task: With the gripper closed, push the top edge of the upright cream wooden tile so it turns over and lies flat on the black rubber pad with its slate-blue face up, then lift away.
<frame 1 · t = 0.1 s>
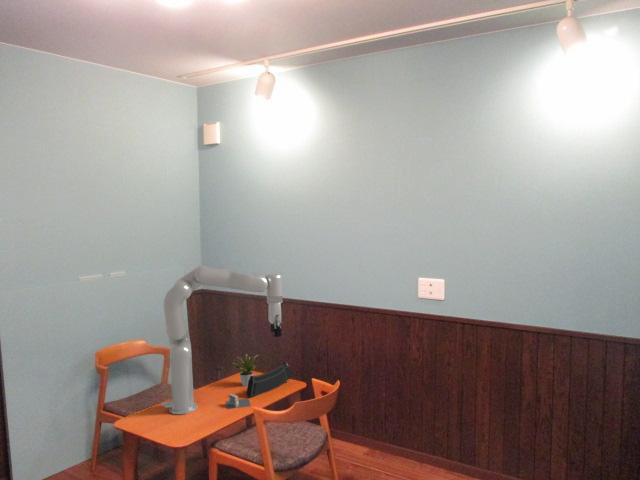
hand: (276, 334, 239), 31 cm above the table, tool pointing down, fingers open, 9 cm apart
magazine: (270, 389, 252), on the table
mat: (238, 404, 233), on the table
tile: (234, 405, 230), resting on mat
house plant: (248, 384, 260), on the table
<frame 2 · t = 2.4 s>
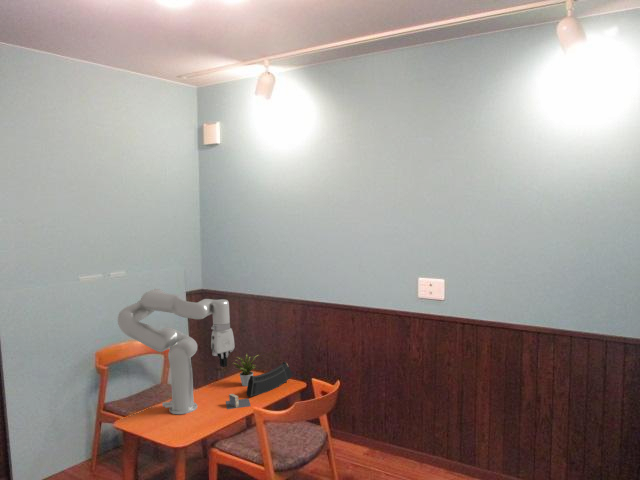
hand: (223, 366, 226), 21 cm above the table, tool pointing down, fingers closed
nothing on the table moved.
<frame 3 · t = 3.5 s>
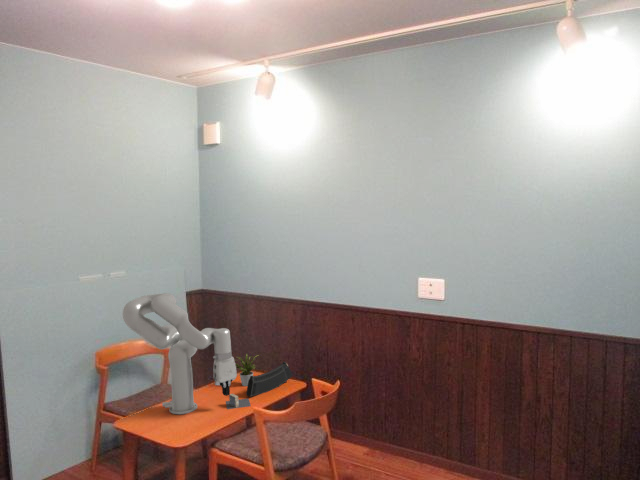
hand: (226, 394, 226), 7 cm above the table, tool pointing down, fingers closed
nothing on the table moved.
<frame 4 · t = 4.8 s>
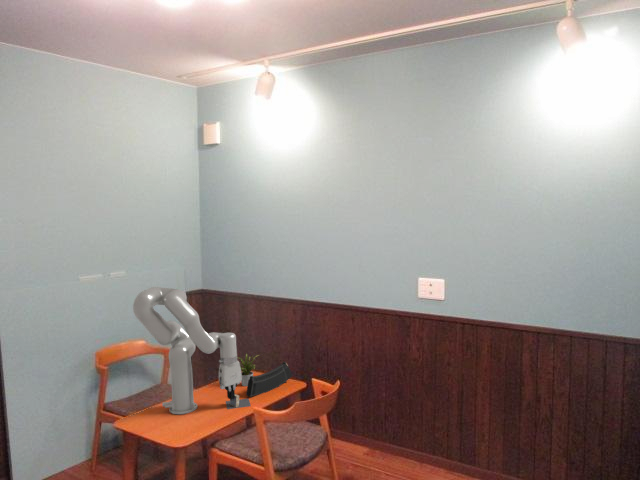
hand: (231, 398, 229), 4 cm above the table, tool pointing down, fingers closed
tile: (234, 405, 230), resting on mat, tilted 8°, touching gripper
everything else where it was.
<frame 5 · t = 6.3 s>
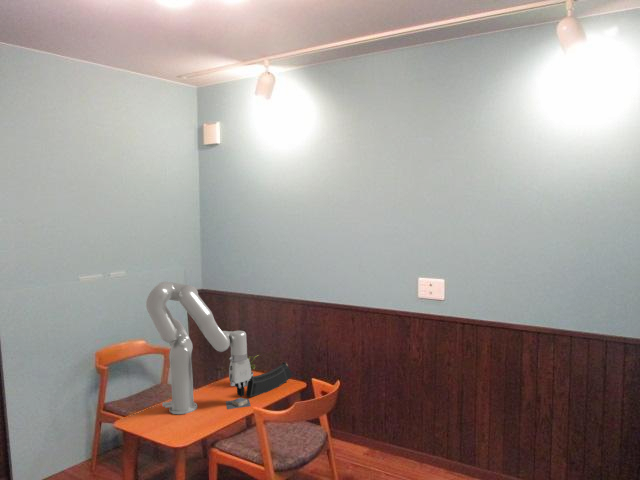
hand: (240, 395, 233), 4 cm above the table, tool pointing down, fingers closed
tile: (235, 403, 231), point 1 cm above the table, tilted 90°, touching mat
everything else where it was.
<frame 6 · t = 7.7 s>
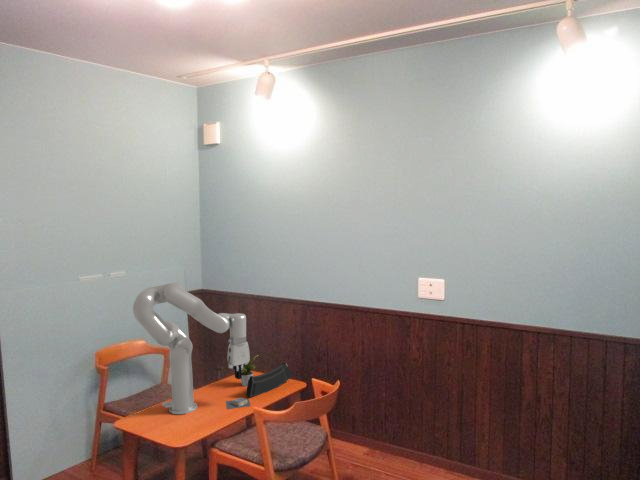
hand: (238, 378, 232), 12 cm above the table, tool pointing down, fingers closed
nothing on the table moved.
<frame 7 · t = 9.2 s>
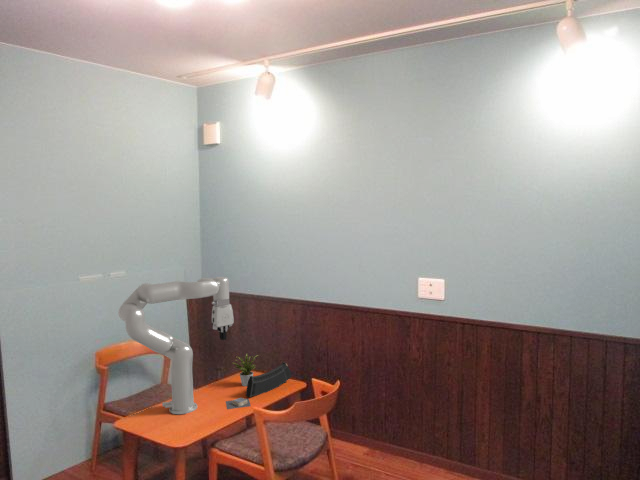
hand: (223, 339, 240), 29 cm above the table, tool pointing down, fingers closed
nothing on the table moved.
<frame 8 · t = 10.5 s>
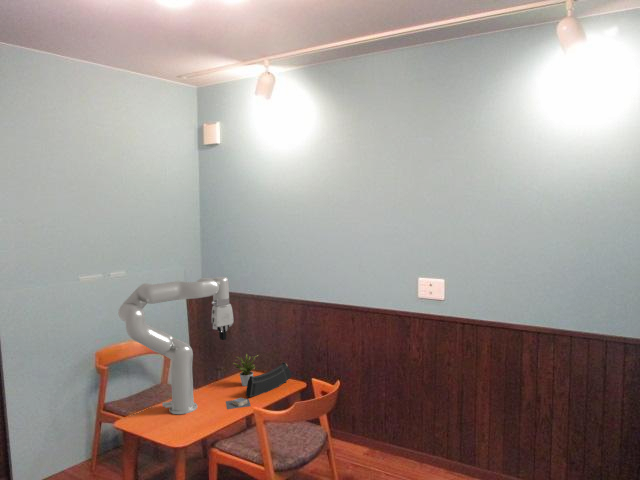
hand: (223, 339, 240), 29 cm above the table, tool pointing down, fingers closed
nothing on the table moved.
at the end: tile tilted 90°; tile inside the target area on the mat (1.9 cm from its centre), point 1.1 cm above the mat's base; tile touching mat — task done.
